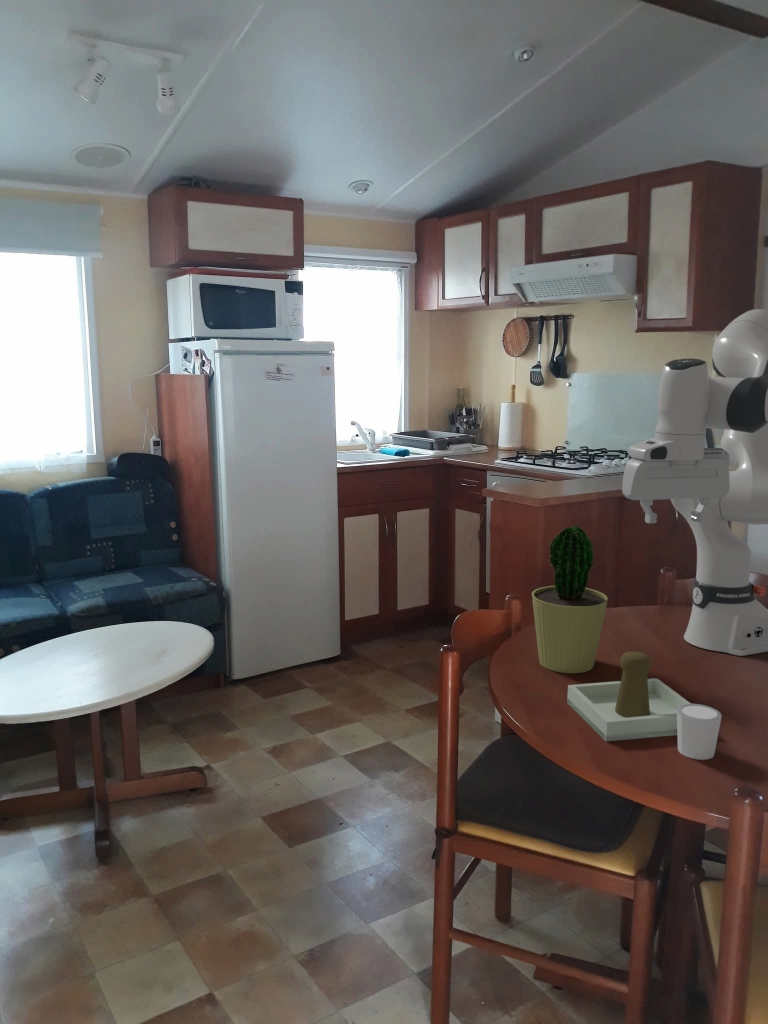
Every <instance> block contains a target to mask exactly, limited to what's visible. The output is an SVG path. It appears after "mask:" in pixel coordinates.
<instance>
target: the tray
mask: <svg viewBox="0 0 768 1024" xmlns="http://www.w3.org/2000/svg"><path fill="white" fill-rule="evenodd" d="M647 680H648V694H649V708H650V716H640V717H629V718H625V717H622V716H620V715H618V714H617V713H616V712H615V707H616V703H617V698H618V693H619V688H620V683H621V680H618V681H617V680H616V681H606V682H605V681H603V682H592V683H589V682H588V683H579V684H568V685H567V697H566V698H567V702H566V703H567V704H568V706H570V707H571V708H572V709H573V710H574V712H576V713H577V714H578V715H579V716H580V718H582V720H584V721H585V722H586V724H588V725H589V727H590V728H592V729H593V730H594V731H595V732H596V734H597V735H598V736H600V738H602V739H603V740H604V742H606V743H607V742H615V741H625V740H627V741H628V740H637V739H649V738H659V737H670V736H677V708H678V707H679V706H680V705H684V704H692V703H691V702H690V701H688V700H687V699H685V698H684V697H683V696H682V695H680V694H679V693H678V692H676V691H675V690H673V689H672V688H671V687H669V686H668V685H666V684H665V683H664V682H662V681H661V680H660V679H658V678H656V677H655V678H647Z"/></svg>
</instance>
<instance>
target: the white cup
mask: <svg viewBox="0 0 768 1024" xmlns="http://www.w3.org/2000/svg"><path fill="white" fill-rule="evenodd" d="M721 721H722V713H721V712H720V711H719V710H718V709H716V708H713V707H711V706H709V705H704V704H700V703H699V704H698V703H691V704H684V705H680V706H679V707H678V708H677V735H676V736H677V751H678V752H679V753H680V754H681V755H682V756H685V757H686V758H688V759H689V758H690V759H693V760H700V761H705V760H710V759H713V758H714V756H715V753H716V749H717V748H716V747H717V743H718V737H719V731H720V728H721Z"/></svg>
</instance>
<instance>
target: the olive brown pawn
mask: <svg viewBox="0 0 768 1024" xmlns="http://www.w3.org/2000/svg"><path fill="white" fill-rule="evenodd" d="M619 663H620V668H621V670H622V674H621V679H620V681H621V683H620V688H619V693H618V698H617V703H616V707H615V712H616V713H617V714H618V715H620V716H622V717H625V718H629V717H640V716H650V708H649V694H648V680H647V679H648V673H649V672H650V671H651V668H652V662H651V657H650V656H649V655H647V654H646V653H644V652H639V651H627V652H625V653H623V654H622V656H621V657H620V662H619Z"/></svg>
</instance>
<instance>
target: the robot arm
mask: <svg viewBox="0 0 768 1024" xmlns="http://www.w3.org/2000/svg"><path fill="white" fill-rule="evenodd" d="M711 358H712V359H711V360H712V362H711V365H712V368H713V371H714V373H716V374H717V377H716V376H715V377H713V376H709V367H708V363H707V362H706V361H705V360H703V359H698V358H681V359H674V360H671V361H668V362H667V363H665V364H664V365H663V368H662V370H661V375H660V379H659V385H658V392H657V400H656V401H657V402H656V411H657V416H658V417H657V424H656V426H655V431H654V436H653V437H651V438H648V439H646V440H644V441H640V442H637V443H634V444H632V445H630V446H629V447H628V451H627V453H628V456H629V457H630V458H629V460H628V461H627V462H626V463H625V467H624V471H623V477H622V484H621V485H622V486H621V490H622V494H623V496H624V497H625V498H626V499H629V500H632V501H639V502H640V503H639V504H640V506H641V508H642V510H643V512H644V515H645V516H644V521H645V523H647V524H657V521H658V520H657V518H658V514H657V513H656V512H655V513H654V512H653V510H652V508H651V506H653V503H654V500H670V501H671V504H672V505H673V507H674V509H675V510H676V511H677V512H678V513H680V514H681V516H683V518H684V519H685V520H686V522H687V524H689V527H690V529H691V530H692V533H693V536H694V539H695V543H696V574H695V575H696V576H695V577H694V578H693V585H692V607H691V613H690V618H689V621H688V624H687V627H686V630H685V633H684V634H683V638H684V640H685V641H686V643H688V644H690V645H693V646H695V647H698V648H700V649H705V650H709V651H714V652H721V653H727V654H730V655H734V656H740V657H744V656H749V655H755V654H761V653H765V652H768V608H766V607H765V606H764V605H763V604H762V603H761V602H759V601H758V600H757V599H756V596H755V594H757V595H758V596H759V597H760V596H761V597H763V596H764V595H765V594H766V591H767V590H766V588H765V587H763V586H761V585H759V584H756V585H754V584H753V583H752V582H750V579H751V578H750V577H751V566H752V556H753V553H752V551H751V549H750V546H749V545H748V544H747V543H746V542H745V540H743V539H742V538H740V537H739V536H737V535H736V534H735V533H733V530H731V528H730V525H729V523H728V522H733V523H742V524H748V525H754V526H755V525H758V526H759V525H768V310H767V309H761V308H760V309H759V308H756V309H754V308H753V309H750V310H747V311H745V312H743V313H742V314H740V315H739V316H737V317H736V318H734V319H733V320H732V321H731V322H730V323H729V324H728V325H727V326H726V327H725V328H724V329H723V330H722V331H721V332H720V333H719V335H718V336H717V338H716V339H715V340H714V343H713V346H712V353H711ZM707 429H711V430H712V429H713V430H724V431H723V432H722V433H723V434H722V437H721V439H720V447H714V448H713V447H706V438H707V437H706V435H707ZM730 462H731V463H732V464H734V465H735V466H736V467H738V468H737V469H735V470H730Z"/></svg>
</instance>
